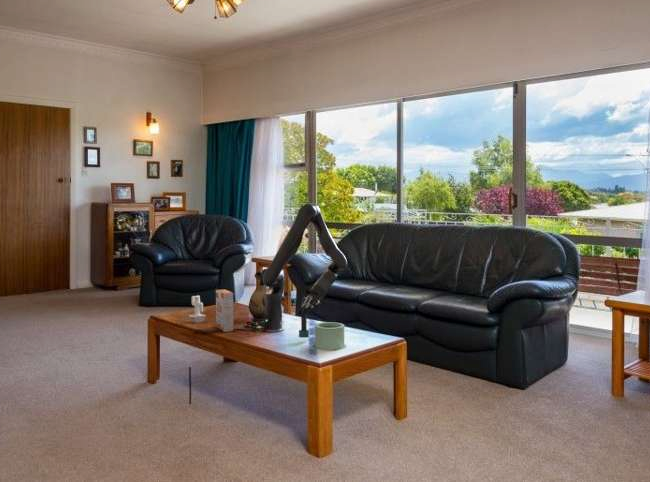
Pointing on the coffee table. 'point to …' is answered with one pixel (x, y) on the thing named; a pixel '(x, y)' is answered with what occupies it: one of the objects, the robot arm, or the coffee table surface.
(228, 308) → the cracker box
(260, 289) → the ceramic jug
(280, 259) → the robot arm
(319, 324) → the jar
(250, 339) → the coffee table surface
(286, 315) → the coffee table surface
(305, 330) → the brush
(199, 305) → the figurine
